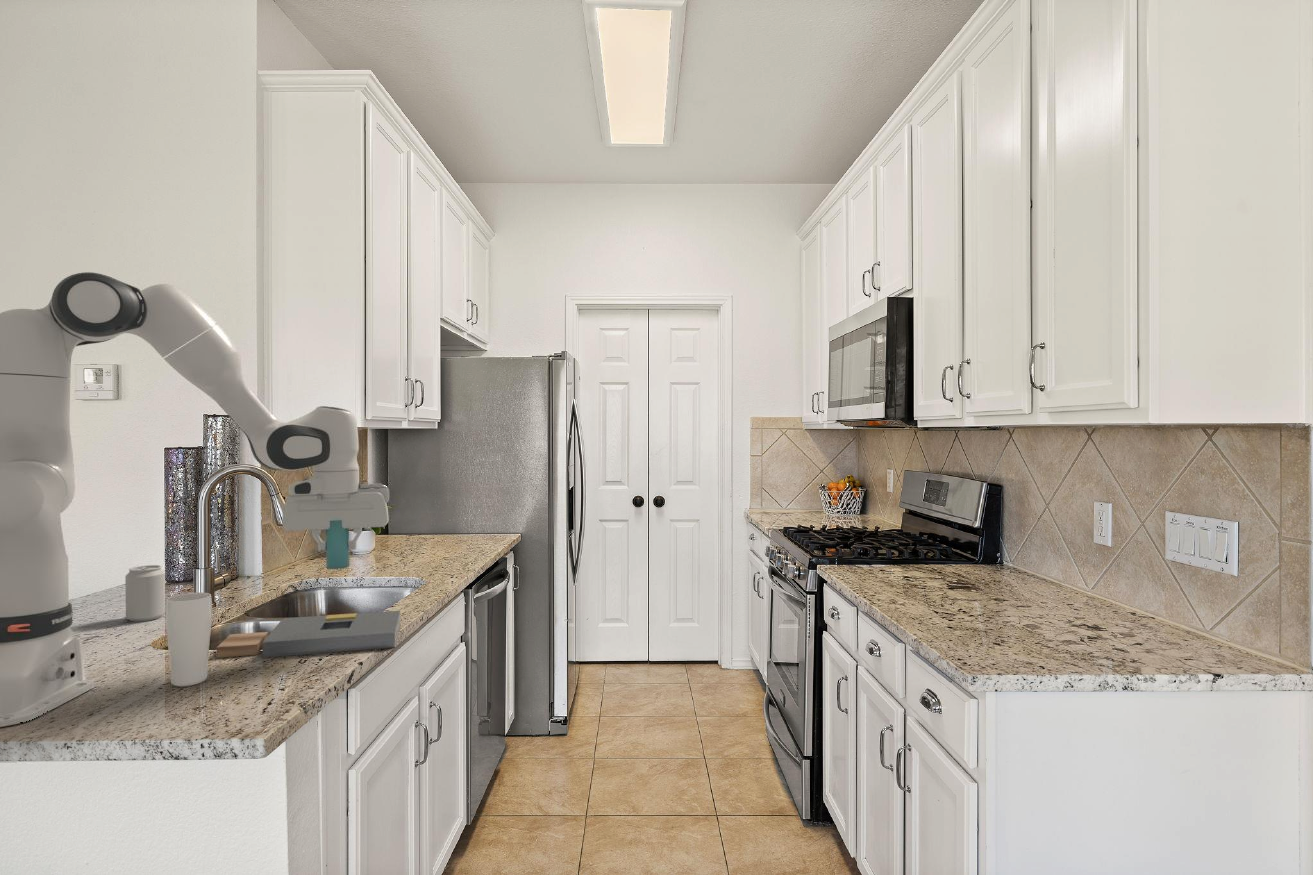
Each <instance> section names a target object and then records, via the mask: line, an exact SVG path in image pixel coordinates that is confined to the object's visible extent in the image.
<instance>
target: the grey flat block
mask: <svg viewBox="0 0 1313 875" xmlns="http://www.w3.org/2000/svg"><path fill="white" fill-rule="evenodd" d="M400 627H401V610H390V611H376V612H373V611H372V612H359V613H358V612H354V613H340V614H326V615H314V616H313V615H312V616H301V617H284V618H282V619H281V620H279V622H278V623H277V625H276V626H275V627H274V628H273V630H272V631H271V632H270V633H268V637H267V638H266V639H265V640H264V641H263V642H262V644H263V648H262V658H263V659H267V658H277V657H280V658H281V657H289V656H292V657H293V656H303V655H306V656H307V655H315V654H316V655H318V654H328V653H341V652H353V651H356V652H357V651H365V650H366V651H367V650H369V651H370V650H378V649H379V650H380V649H393V648H396V644H397V639H398V635H399V634H398V633H399V631H400Z"/></svg>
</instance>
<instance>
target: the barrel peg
mask: <svg viewBox="0 0 1313 875" xmlns="http://www.w3.org/2000/svg"><path fill="white" fill-rule="evenodd" d="M349 530H350V528H343V527H342V520H338V521H330V527H329V529H325V542H326V551H325V563H326V564H325V566H326V569H328V570H340V569H346V568H349V567H350V550H348V547H349V545H348V541H349V540H350V531H349Z"/></svg>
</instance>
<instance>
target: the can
mask: <svg viewBox="0 0 1313 875" xmlns="http://www.w3.org/2000/svg"><path fill="white" fill-rule="evenodd" d="M128 571H129V572H128V573H126V575H125V578H124V580H125V618H126V619H128V620H129V621H130V622H136V623H137V622H140V623H141V622H148V621H154V620H159V619H160V618H162V616H163V615H164V614H166V572H165V571H164V570H163V569H162V565H160V564H151V565H149V564H147V565H139V566H134V567H131V568H129V569H128Z"/></svg>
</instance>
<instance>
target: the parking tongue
mask: <svg viewBox="0 0 1313 875" xmlns="http://www.w3.org/2000/svg"><path fill="white" fill-rule="evenodd" d="M268 635H269V631H260V632H246V633H234V634H231V633H230V634H229V635H228V636H227V637H226V638H225V639H224V640H223V641H222V642H221V643H219V645H217V646H216V658H219V659H220V658H231V657H246V656H258V654H259V653H260V651H262V650H263V644H262V642H263V641H264V640H265V639H266V638H267V637H268Z"/></svg>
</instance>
